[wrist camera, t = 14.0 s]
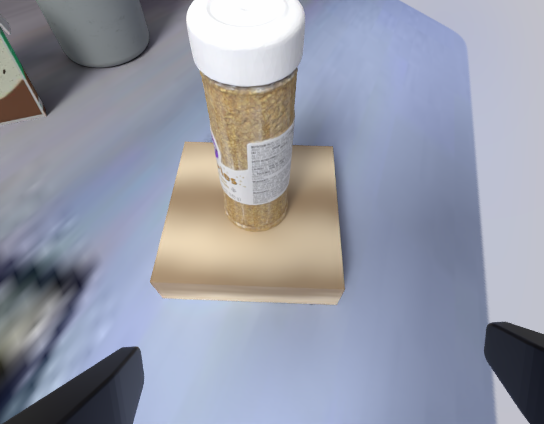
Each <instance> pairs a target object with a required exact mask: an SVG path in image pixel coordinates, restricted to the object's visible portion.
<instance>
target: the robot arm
mask: <svg viewBox="0 0 544 424" xmlns="http://www.w3.org/2000/svg"><path fill="white" fill-rule="evenodd" d="M484 354H485V358H486V360H487V362H488V363H489V365H490V366H491V368H492V369H493V371H494V372H495V374H496V375H497V377H498V378H499V380H500V381H501V383H502V384H503V386H504V387H505V389H506V390H507V392H508V393H509V395H510V396H511V398H512V399H513V401H514V402H515V404H516V405H517V407H518V408H519V409H520V411H521V412H522V414H523V415H524V416H525V418H526V419H527V421H528V422H529V423H530V424H544V334H541V333H538V332H535V331H532V330H529V329H526V328H523V327H520V326H517V325H514V324H511V323H508V322H493V323H489V324H488V325H487V328H486V336H485V346H484ZM143 384H144V371H143V364H142V357H141V351H140V349H139V348H138V347H123V348H120V349H119V350H117V351H116V352H114V353H112V354H111V355H109V356H108V357H106V358H105V359H103V360H102V361H100V362H98V363H97V364H95V365H94V366H92V367H91V368H89V369H87V370H86V371H84V372H83V373H81V374H80V375H78V376H76V377H75V378H73V379H72V380H70V381H69V382H67V383H66V384H64V385H62V386H61V387H59V388H58V389H56V390H55V391H53V392H51V393H50V394H48V395H47V396H45V397H44V398H42V399H40V400H39V401H37V402H36V403H34V404H33V405H31V406H29V407H28V408H26V409H25V410H23V411H22V412H20V413H19V414H17V415H15V416H14V417H12V418H11V419H9V420H8V421H6V422H4V423H3V424H133V421H134V417H135V414H136V410H137V407H138V403H139V399H140V396H141V392H142V388H143Z"/></svg>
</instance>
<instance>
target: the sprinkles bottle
mask: <svg viewBox="0 0 544 424" xmlns="http://www.w3.org/2000/svg"><path fill="white" fill-rule="evenodd" d="M186 22H187V28H188V34H189V40H190V45H191V50H192V55H193V59H194V62H195V64H196V66H197V67H198V68H199V70H200V74H201V76H202V82H203V85H204V90H205V96H206V101H207V107H208V113H209V118H210V129H211V134H212V140H213V144H214V150H215V155H216V161H217V167H218V173H219V178H220V183H221V186H222V188H223V195H224V209H225V214H226V215H227V217H228V219H229V220H230V221H231V222H232V223H233V224H234V225H236V226H237V227H238V228H240V229H244V230H246V231H251V232H260V231H267V230H269V229H271V228H272V227H275V226H276V225H278V224H279V223H280V222H281V221H282V220H283V218H284V217H285V215H286V212H287V209H288V199H287V186H288V184H289V179H290V168H291V157H292V144H293V133H294V120H295V111H294V104H295V91H296V80H297V78H296V76H297V71H298V69H297V66H298V65H299V63H300V61H301V59H302V55H303V45H304V32H305V13H304V10H303V7H302V5H301V4H300V2H299V1H298V0H194V1H193V2H192V4H191V5H190V7H189V9H188V12H187V17H186Z"/></svg>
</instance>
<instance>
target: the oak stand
mask: <svg viewBox="0 0 544 424" xmlns="http://www.w3.org/2000/svg"><path fill="white" fill-rule="evenodd" d="M287 199H288V209H287V212H286V215H285V217H284V218H283V220H282V221H281V222H280V223H279V224H278V225H276V226H275V227H272V228H271V229H269V230H267V231H260V232H251V231H246V230H244V229H240V228H238V227H237V226H236V225H234V224H233V223H232V222H231V221H230V220H229V219H228V217H227V215H226V214H225V209H224V195H223V188H222V186H221V183H220V178H219V173H218V167H217V161H216V155H215V150H214V144H213V143H208V142H185V144H184V148H183V152H182V156H181V160H180V164H179V168H178V172H177V176H176V180H175V184H174V188H173V192H172V196H171V200H170V204H169V208H168V212H167V216H166V220H165V224H164V228H163V232H162V236H161V240H160V244H159V248H158V252H157V256H156V260H155V264H154V268H153V272H152V276H151V280H150V283H151V284H152V285H153V287H154V288H155V289H156V290H157V291H158V293H159V294H160V295H161V296H162V298H172V299H197V300H222V301H248V302H273V303H299V304H324V305H337V303H338V301H339V300H340V298H341V296H342V294H343V292H344V290H345V286H344V275H343V263H342V251H341V239H340V227H339V215H338V203H337V191H336V179H335V167H334V155H333V146H303V145H292V157H291V168H290V179H289V184H288V186H287Z"/></svg>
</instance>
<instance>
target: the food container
mask: <svg viewBox="0 0 544 424" xmlns="http://www.w3.org/2000/svg"><path fill="white" fill-rule="evenodd" d="M0 26H1V27H2V28H3V29H4V30H5V31H6V32H7V33H8V34H9V35H10V34H11V28H10V26H9V23H8V22H7V21H6V20H5V19H4V18H3V17H2V15H1V14H0ZM1 27H0V126H3V125H7V124H12V123H17V122H22V121H27V120H32V119H36V118H41V117H46V109H45V107H44V105H43V103H42V102H41V100H40V98H39V96H38V94H37V92H36V91H35V89H34V87H33V85H32V83H31V81H30V80H29V78H28V76H27V74H26V72H25V71H24V69H23V67H22V65H21V63H20V61H19V60H18V58H17V56H16V54H15V52H14V50H13V49H12V47H11V45H10V43H9V41H8V39H7V38H6V36H5V34H4V32H3V30H2V29H1Z"/></svg>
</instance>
